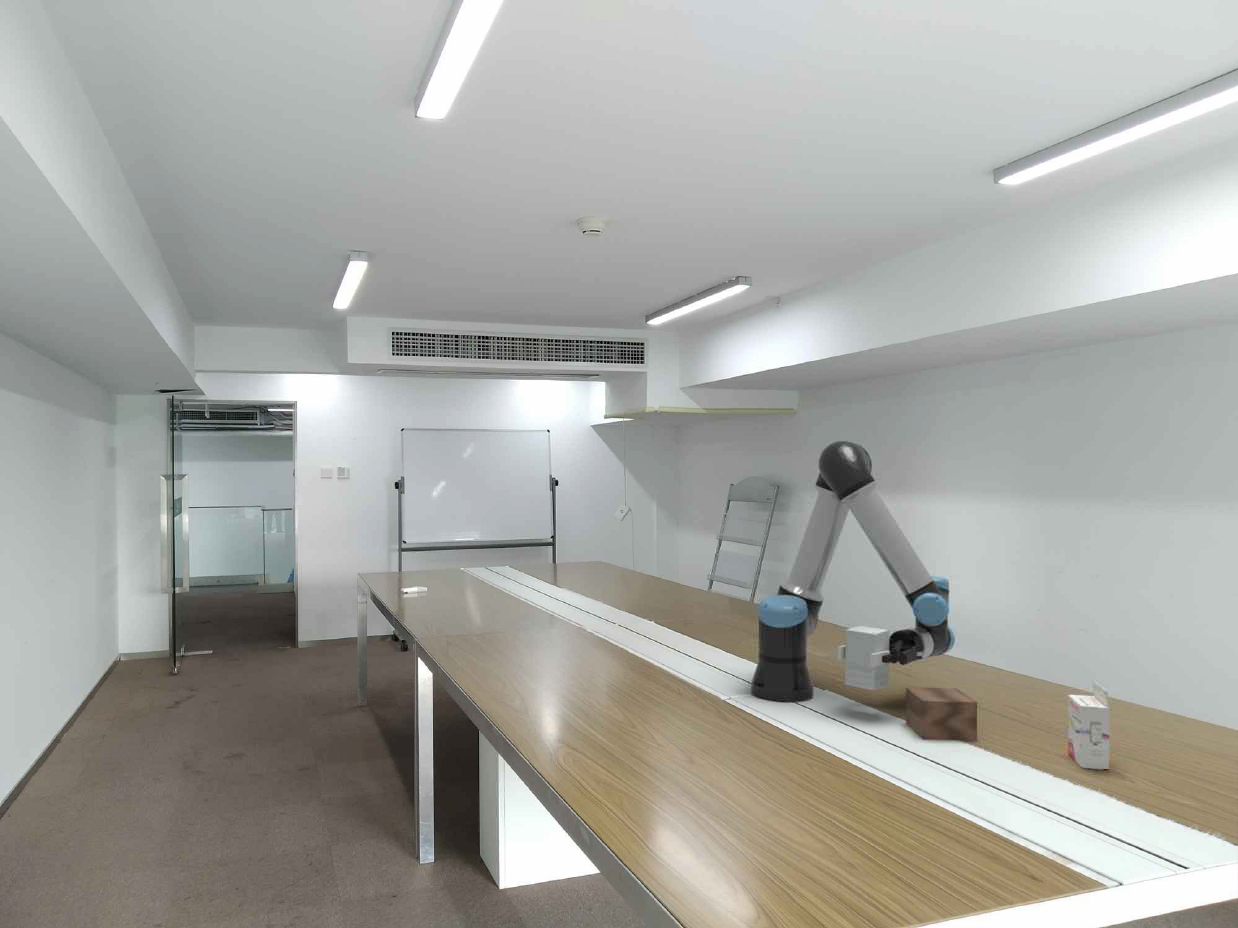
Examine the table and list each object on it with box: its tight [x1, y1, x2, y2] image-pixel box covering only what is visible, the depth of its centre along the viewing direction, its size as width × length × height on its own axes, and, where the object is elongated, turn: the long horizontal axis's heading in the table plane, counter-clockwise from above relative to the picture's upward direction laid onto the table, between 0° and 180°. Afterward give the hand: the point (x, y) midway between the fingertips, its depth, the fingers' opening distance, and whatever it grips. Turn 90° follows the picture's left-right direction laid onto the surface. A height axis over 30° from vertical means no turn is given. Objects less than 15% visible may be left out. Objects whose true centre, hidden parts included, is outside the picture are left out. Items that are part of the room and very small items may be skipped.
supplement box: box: [844, 625, 890, 692], centre depth 190 cm, size 7×7×13 cm
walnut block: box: [905, 687, 978, 741], centre depth 179 cm, size 11×11×8 cm
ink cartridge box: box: [1067, 680, 1110, 770], centre depth 161 cm, size 9×5×15 cm, turn 168°
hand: (855, 656), depth 186 cm, fingers closed on supplement box, 8 cm apart
